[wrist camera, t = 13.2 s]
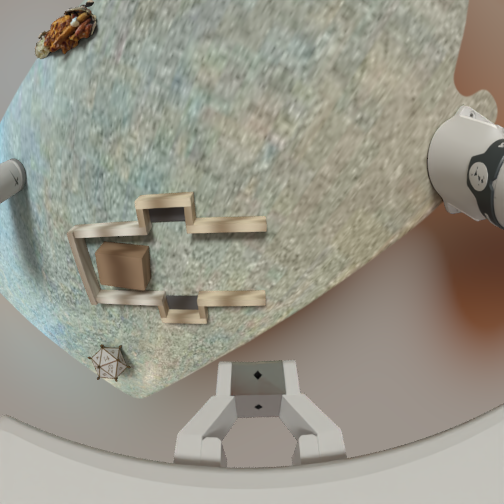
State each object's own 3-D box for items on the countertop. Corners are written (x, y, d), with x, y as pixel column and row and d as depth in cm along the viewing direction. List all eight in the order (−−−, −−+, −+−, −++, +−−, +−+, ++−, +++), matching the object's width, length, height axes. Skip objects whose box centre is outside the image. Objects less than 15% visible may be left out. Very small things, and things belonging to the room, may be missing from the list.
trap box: (265, 189, 39) (266, 196, 37) (264, 313, 50) (265, 325, 48) (69, 202, 39) (60, 210, 36) (103, 310, 50) (98, 320, 48)
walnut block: (149, 245, 44) (141, 258, 40) (151, 276, 47) (144, 290, 43) (105, 240, 43) (94, 252, 39) (109, 270, 46) (100, 284, 42)
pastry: (35, 39, 25) (22, 38, 22) (93, -2, 23) (82, -7, 20) (43, 71, 28) (29, 71, 25) (102, 31, 26) (90, 27, 23)
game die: (113, 332, 59) (89, 338, 49) (141, 354, 58) (121, 364, 48) (99, 361, 58) (76, 370, 48) (126, 383, 57) (105, 396, 47)
